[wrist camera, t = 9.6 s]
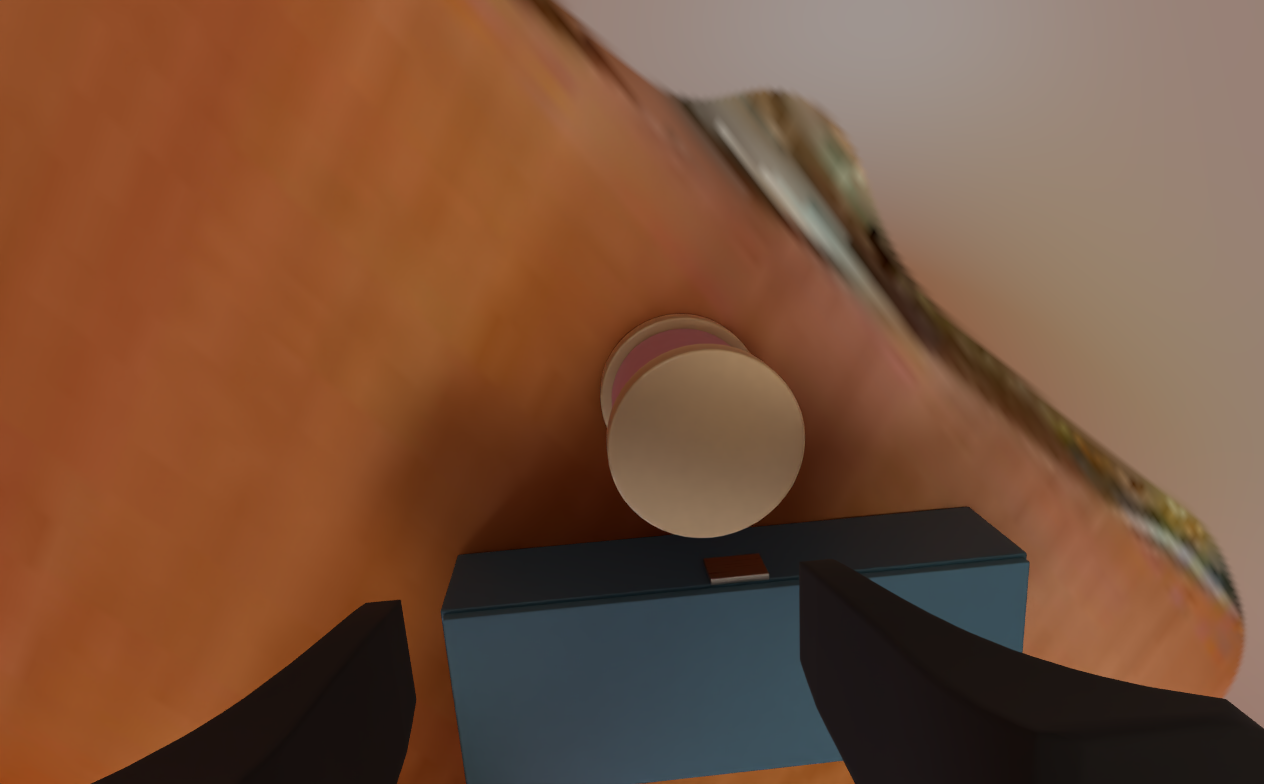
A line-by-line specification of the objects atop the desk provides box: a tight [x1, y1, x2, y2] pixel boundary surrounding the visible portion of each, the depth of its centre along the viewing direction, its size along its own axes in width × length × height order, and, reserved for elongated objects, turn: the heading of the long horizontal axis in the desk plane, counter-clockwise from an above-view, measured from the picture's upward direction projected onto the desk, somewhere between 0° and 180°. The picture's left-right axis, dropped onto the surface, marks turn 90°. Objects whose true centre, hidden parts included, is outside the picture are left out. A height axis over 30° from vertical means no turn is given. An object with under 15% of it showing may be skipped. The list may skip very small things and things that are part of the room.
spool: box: [600, 314, 805, 538], centre depth 20 cm, size 5×5×5 cm
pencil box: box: [441, 507, 1029, 784], centre depth 23 cm, size 16×6×4 cm, turn 94°
